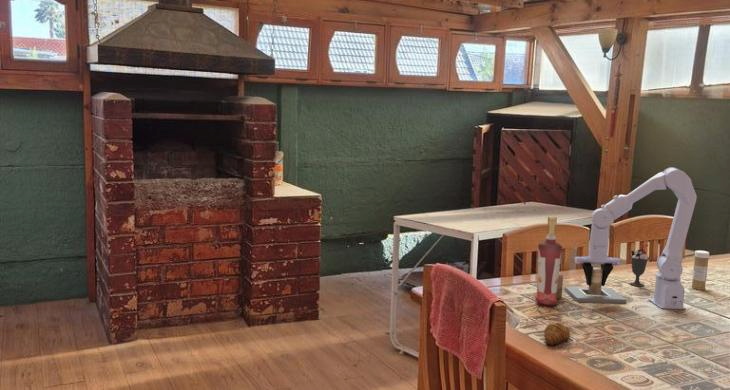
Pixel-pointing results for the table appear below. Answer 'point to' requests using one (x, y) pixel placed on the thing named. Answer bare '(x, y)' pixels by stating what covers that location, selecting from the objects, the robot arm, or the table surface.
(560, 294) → the fat peg
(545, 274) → the liquor
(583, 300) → the socket board
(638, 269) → the sundae
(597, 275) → the slim peg
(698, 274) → the sprinkles bottle
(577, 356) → the table surface
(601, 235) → the robot arm
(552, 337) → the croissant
